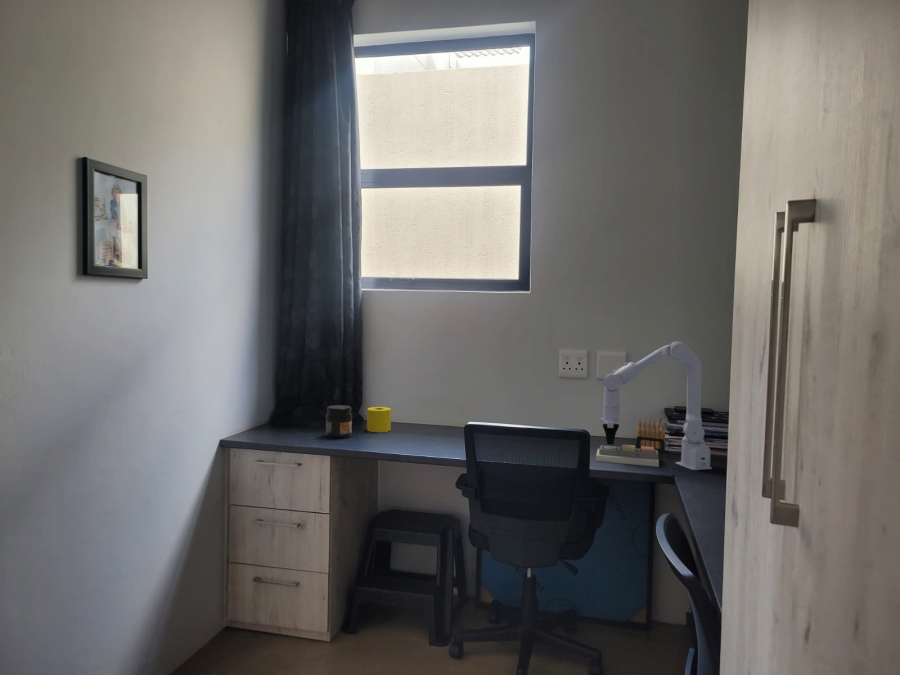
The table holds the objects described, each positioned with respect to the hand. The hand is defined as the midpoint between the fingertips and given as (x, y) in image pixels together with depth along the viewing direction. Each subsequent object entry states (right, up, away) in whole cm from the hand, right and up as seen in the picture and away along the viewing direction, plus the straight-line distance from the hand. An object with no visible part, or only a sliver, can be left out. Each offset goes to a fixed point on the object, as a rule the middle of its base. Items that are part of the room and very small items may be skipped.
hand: (610, 444), depth 222 cm
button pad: (+6, -6, -2) cm, 8 cm away
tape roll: (-89, -1, +40) cm, 97 cm away
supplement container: (-104, -2, +27) cm, 107 cm away
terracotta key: (+12, -3, -4) cm, 13 cm away
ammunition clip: (+20, -5, +15) cm, 25 cm away
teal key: (0, -3, 0) cm, 3 cm away
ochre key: (+6, -2, -2) cm, 7 cm away
